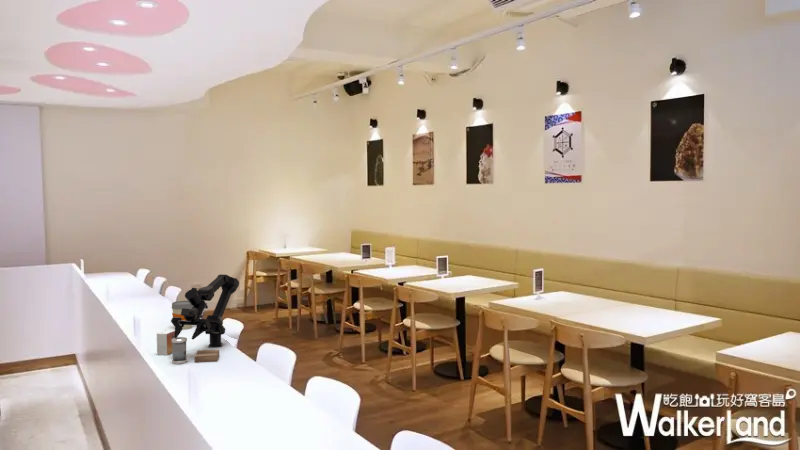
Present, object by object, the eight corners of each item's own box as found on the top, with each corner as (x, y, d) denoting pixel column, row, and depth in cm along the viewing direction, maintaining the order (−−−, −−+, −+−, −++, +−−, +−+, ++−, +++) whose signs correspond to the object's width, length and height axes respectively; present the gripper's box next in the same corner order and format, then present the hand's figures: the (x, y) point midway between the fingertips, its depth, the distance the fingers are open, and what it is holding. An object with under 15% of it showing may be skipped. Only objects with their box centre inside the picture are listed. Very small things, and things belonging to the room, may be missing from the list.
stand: (197, 356, 283) (197, 350, 283) (219, 355, 285) (219, 349, 285) (194, 362, 273) (194, 356, 273) (217, 361, 275) (217, 355, 275)
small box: (167, 355, 285) (166, 334, 285) (156, 354, 286) (156, 333, 286) (176, 351, 293) (176, 330, 293) (166, 350, 294) (165, 329, 294)
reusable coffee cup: (199, 327, 345) (199, 302, 344) (181, 331, 334) (180, 305, 334) (185, 324, 352) (185, 299, 351) (167, 328, 341) (166, 303, 340)
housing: (173, 360, 277) (173, 337, 276) (188, 359, 278) (187, 336, 277) (170, 364, 270) (170, 340, 269) (185, 363, 271) (185, 340, 271)
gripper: (172, 300, 283) (158, 328, 273) (207, 302, 279) (194, 330, 269) (182, 313, 291) (169, 340, 281) (216, 315, 287) (204, 343, 277)
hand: (183, 338), depth 277 cm, fingers open, 9 cm apart
